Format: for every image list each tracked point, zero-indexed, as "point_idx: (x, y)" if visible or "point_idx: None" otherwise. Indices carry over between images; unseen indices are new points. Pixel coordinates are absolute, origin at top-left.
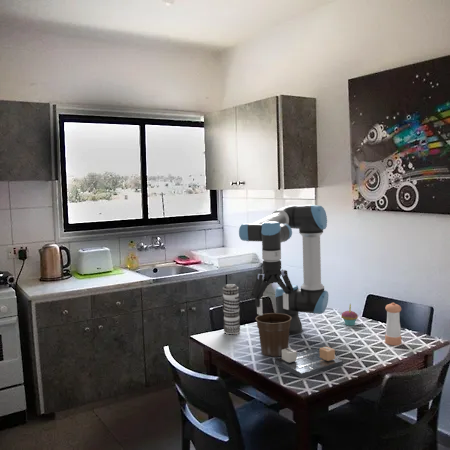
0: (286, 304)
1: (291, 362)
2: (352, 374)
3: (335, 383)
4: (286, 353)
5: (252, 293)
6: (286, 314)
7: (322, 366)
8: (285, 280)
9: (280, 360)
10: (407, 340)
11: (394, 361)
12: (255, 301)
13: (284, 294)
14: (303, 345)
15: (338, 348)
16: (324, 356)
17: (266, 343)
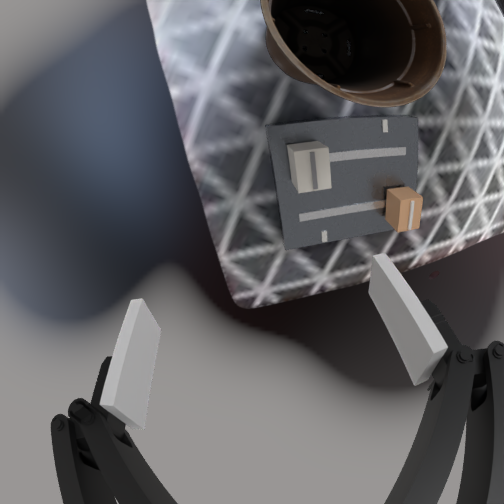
0: (383, 314)
1: None
2: None
3: (329, 286)
4: (296, 177)
5: (61, 450)
6: (442, 22)
7: (355, 234)
8: (474, 475)
9: (280, 145)
10: None
11: (469, 245)
12: (94, 391)
13: (421, 362)
14: None
15: (462, 133)
16: (390, 211)
17: (276, 55)
